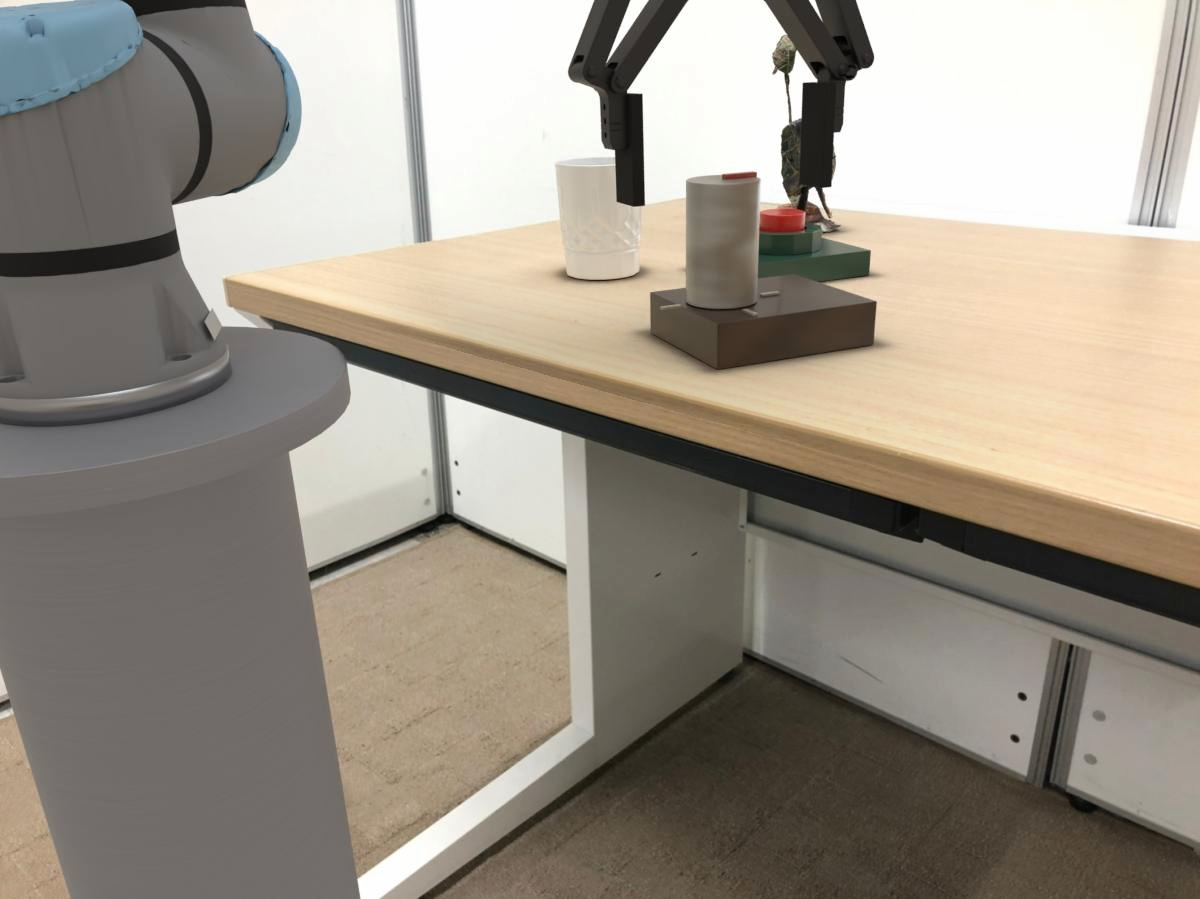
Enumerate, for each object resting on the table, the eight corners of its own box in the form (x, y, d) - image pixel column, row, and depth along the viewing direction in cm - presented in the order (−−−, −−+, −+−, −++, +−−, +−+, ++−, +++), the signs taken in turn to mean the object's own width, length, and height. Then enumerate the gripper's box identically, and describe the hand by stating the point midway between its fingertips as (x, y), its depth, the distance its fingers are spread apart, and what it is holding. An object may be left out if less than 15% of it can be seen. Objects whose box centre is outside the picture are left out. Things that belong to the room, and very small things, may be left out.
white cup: (628, 261, 95) (626, 154, 92) (657, 277, 88) (656, 161, 85) (550, 268, 93) (544, 159, 90) (573, 285, 86) (568, 167, 83)
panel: (696, 373, 62) (696, 324, 61) (631, 335, 71) (630, 292, 69) (873, 344, 67) (877, 298, 65) (792, 312, 75) (794, 271, 74)
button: (774, 237, 85) (774, 216, 84) (750, 230, 88) (750, 210, 88) (813, 233, 86) (814, 212, 86) (788, 226, 90) (789, 207, 89)
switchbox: (750, 290, 82) (751, 242, 81) (694, 269, 91) (695, 225, 90) (869, 275, 87) (872, 229, 85) (805, 256, 95) (807, 214, 94)
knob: (706, 312, 64) (707, 180, 61) (673, 297, 68) (673, 173, 65) (770, 303, 65) (775, 175, 62) (734, 289, 70) (737, 168, 66)
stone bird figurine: (778, 240, 104) (786, 33, 96) (753, 223, 114) (758, 35, 106) (854, 236, 104) (867, 31, 97) (821, 219, 115) (831, 33, 107)
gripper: (544, -216, 49) (566, 220, 56) (950, -193, 57) (920, 183, 65) (500, -182, 55) (525, 205, 63) (870, -166, 64) (851, 173, 71)
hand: (726, 195), depth 64 cm, fingers open, 13 cm apart
